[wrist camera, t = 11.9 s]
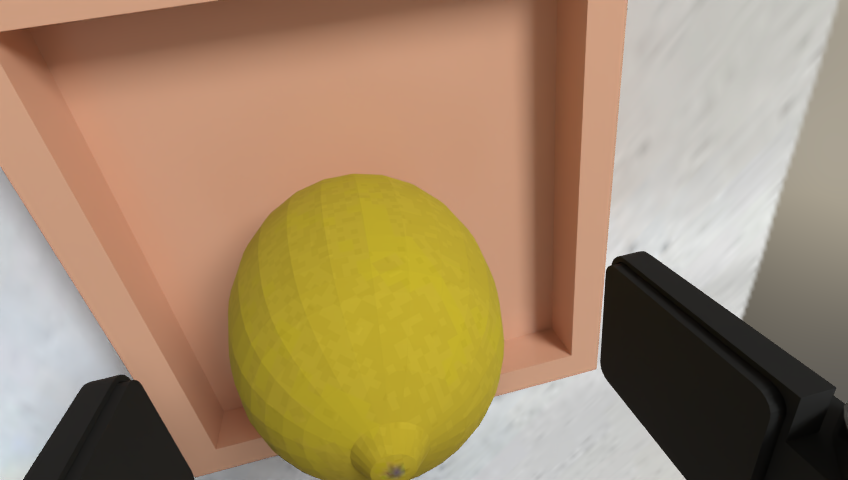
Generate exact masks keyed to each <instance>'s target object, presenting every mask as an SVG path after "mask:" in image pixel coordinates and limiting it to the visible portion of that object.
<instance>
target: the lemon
mask: <svg viewBox="0 0 848 480" xmlns="http://www.w3.org/2000/svg"><path fill="white" fill-rule="evenodd" d="M228 344H229V359H230V366H231V371H232V375H233V379H234V383H235V386H236V389H237V391H238V394H239V397H240V399H241V402H242V405H243V407H244V410H245V412H246V414H247V417H248V419H249V421H250V423H251V424H252V425H253V427H254V428H255V429H256V431H257V432H258V433H259V434H260V436H261V437H262V438H263V439H264V441H265V442H266V443H267V444H268V445H269V447H270V448H271V449H272V450H273V451H274V452H275V453H276V454H277V455H279V456H280V457H281V458H283V459H284V460H285V461H287V462H288V463H290V464H291V465H293V466H295V467H296V468H298V469H299V470H301V471H302V472H304V473H306V474H309V475H311V476H313V477H316V478H319V479H322V480H410V479H413V478H415V477H418V476H420V475H422V474H424V473H425V472H427V471H429V470H431V469H433V468H434V467H436V466H438V465H439V464H441V463H443V462H444V461H445V460H446V459H447V458H449V457H450V456H451V455H452V454H454V453H455V452H456V451H457V450H458V449H459V448H460V447H461V446H462V445H463V444H464V443H465V442H466V440H467V439H468V438H469V437H470V436H471V434H472V433H473V432H474V431H475V430H476V428H477V427H478V426H479V425H480V423H481V421H482V419H483V418H484V416H485V414H486V412H487V410H488V408H489V406H490V404H491V402H492V400H493V398H494V396H495V394H496V391H497V387H498V383H499V380H500V374H501V368H502V362H503V357H504V334H503V325H502V318H501V310H500V303H499V298H498V292H497V289H496V285H495V282H494V279H493V276H492V274H491V271H490V269H489V267H488V265H487V263H486V261H485V258H484V256H483V254H482V252H481V250H480V248H479V246H478V244H477V242H476V240H475V238H474V237H473V235H472V234H471V233H470V231H469V230H468V229H467V228H466V227H465V226H464V224H463V223H462V222H461V221H460V220H459V219H458V218H457V217H456V216H455V215H454V214H453V213H452V212H451V211H450V210H449V208H448V207H447V206H446V205H445V204H444V203H442V202H441V201H439V200H438V199H436V198H435V197H433V196H431V195H430V194H428V193H427V192H425V191H423V190H422V189H420V188H418V187H417V186H415V185H413V184H411V183H408V182H405V181H401V180H398V179H395V178H391V177H388V176H384V175H375V174H348V175H343V176H338V177H333V178H328V179H323V180H321V181H319V182H317V183H315V184H313V185H310V186H308V187H306V188H304V189H302V190H299V191H297V192H296V193H295V194H293V195H292V196H291V197H290V198H288V199H287V200H286V201H285V202H284V203H282V204H281V205H280V206H279V207H278V208H276V209H275V210H274V211H273V212H271V213H270V214H269V216H268V217H267V218H266V219H265V221H264V222H263V224H262V225H261V226H260V228H259V229H258V231H257V232H256V234H255V235H254V236H253V238H252V239H251V241H250V242H249V244H248V245H247V247H246V249H245V251H244V253H243V256H242V259H241V262H240V265H239V268H238V271H237V274H236V277H235V280H234V283H233V286H232V289H231V293H230V298H229V306H228Z"/></svg>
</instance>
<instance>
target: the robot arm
mask: <svg viewBox="0 0 848 480" xmlns="http://www.w3.org/2000/svg"><path fill="white" fill-rule="evenodd" d="M600 363H601V369H602V372H603V374H604V376H605V378H606V379H607V381H608V382H609V383H610V385H611V386H612V387H613V388H614V390H615V391H616V392H617V393H618V395H619V396H620V397H621V398H622V400H623V401H624V402H625V403H626V405H627V406H628V407H629V408H630V410H631V411H632V412H633V413H634V415H635V416H636V417H637V418H638V420H639V421H640V422H641V423H642V425H643V426H644V427H645V428H646V430H647V431H648V432H649V434H650V435H651V436H652V437H653V439H654V440H655V441H656V442H657V444H658V445H659V446H660V447H661V449H662V450H663V451H664V452H665V454H666V455H667V456H668V457H669V459H670V460H671V461H672V462H673V464H674V465H675V466H676V467H677V469H678V470H679V471H680V472H681V474H682V475H683V476H684V477H685V479H686V480H848V401H847V402H846V404H844V403H843V402H842V401H840V400H839V399H838V398H836V397H835V396H834V392H835V390H836V387H835V386H833V385H832V384H830V383H829V382H828V381H826V380H825V379H824V378H822V377H821V376H819V375H818V374H817V373H815V372H813V371H812V370H811V369H809V368H808V367H807V366H805V365H804V364H803V363H801V362H800V361H798V360H797V359H796V358H794V357H792V356H791V355H790V354H788V353H787V352H786V351H784V350H783V349H781V348H780V347H779V346H777V345H776V344H774V343H773V342H772V341H770V340H769V339H767V338H766V337H765V336H763V335H762V334H760V333H759V332H758V331H756V330H755V329H753V328H752V327H751V326H749V325H748V324H746V323H745V322H744V321H742V320H741V319H739V318H738V317H737V316H735V315H734V314H732V313H731V312H730V311H728V310H727V309H725V308H724V307H723V306H721V305H720V304H718V303H717V302H716V301H714V300H713V299H711V298H710V297H709V296H707V295H706V294H704V293H703V292H702V291H700V290H699V289H697V288H696V287H695V286H693V285H692V284H690V283H689V282H688V281H686V280H685V279H683V278H682V277H681V276H679V275H678V274H676V273H675V272H674V271H672V270H671V269H669V268H668V267H667V266H665V265H664V264H662V263H661V262H660V261H658V260H657V259H655V258H654V257H653V256H651V255H650V254H648V253H646V252H644V251H640V252H636V253H631V254H627V255H623V256H619V257H616V258H615V259H614V260H613V262H612V265H611V266H609V267H608V268H607V270H606V279H605V295H604V311H603V328H602V344H601V360H600ZM23 480H194V476H193V473H192V471H191V469H190V467H189V465H188V464H187V462H186V460H185V458H184V457H183V455H182V453H181V452H180V450H179V448H178V446H177V445H176V443H175V441H174V439H173V438H172V436H171V434H170V433H169V431H168V429H167V427H166V426H165V424H164V422H163V421H162V419H161V417H160V415H159V414H158V412H157V410H156V408H155V407H154V405H153V403H152V402H151V400H150V398H149V396H148V395H147V393H146V391H145V389H144V388H143V386H142V384H141V383H140V382H139V381H137V380H130V379H129V377H127V376H125V375H118V376H113V377H109V378H105V379H101V380H97V381H92V382H89V383H87V384H85V385H84V386H83V387H82V388H81V390H80V391H79V393H78V394H77V396H76V397H75V399H74V401H73V402H72V404H71V405H70V407H69V408H68V410H67V412H66V413H65V415H64V416H63V418H62V419H61V421H60V422H59V424H58V426H57V427H56V429H55V430H54V432H53V433H52V435H51V437H50V438H49V440H48V441H47V443H46V444H45V446H44V448H43V449H42V451H41V452H40V454H39V455H38V457H37V459H36V460H35V462H34V463H33V465H32V466H31V468H30V470H29V471H28V473H27V474H26V476H25V477H24V479H23Z"/></svg>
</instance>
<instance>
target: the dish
mask: <svg viewBox="0 0 848 480" xmlns="http://www.w3.org/2000/svg"><path fill="white" fill-rule="evenodd" d="M627 3H628V0H0V166H1V168H2V169H3V171H4V173H5V174H6V176H7V177H8V179H9V181H10V182H11V184H12V185H13V187H14V189H15V190H16V192H17V193H18V195H19V197H20V198H21V200H22V201H23V203H24V205H25V206H26V208H27V209H28V211H29V213H30V214H31V216H32V217H33V219H34V221H35V222H36V224H37V225H38V227H39V229H40V230H41V232H42V233H43V235H44V237H45V238H46V240H47V241H48V243H49V245H50V246H51V248H52V249H53V251H54V253H55V254H56V256H57V257H58V259H59V261H60V262H61V264H62V265H63V267H64V269H65V270H66V272H67V273H68V275H69V277H70V278H71V280H72V281H73V283H74V285H75V286H76V288H77V289H78V291H79V293H80V294H81V296H82V297H83V299H84V301H85V302H86V304H87V305H88V307H89V309H90V310H91V312H92V313H93V315H94V317H95V318H96V320H97V321H98V323H99V325H100V326H101V328H102V329H103V331H104V333H105V334H106V336H107V337H108V339H109V341H110V342H111V344H112V345H113V347H114V349H115V350H116V352H117V353H118V355H119V357H120V358H121V360H122V361H123V363H124V365H125V366H126V368H127V369H128V371H129V373H130V374H131V376H132V377H133V379H134V380H137V381H139V382H140V383H141V384H142V386H143V388H144V389H145V391H146V393H147V395H148V396H149V398H150V400H151V402H152V403H153V405H154V407H155V408H156V410H157V412H158V414H159V415H160V417H161V419H162V421H163V422H164V424H165V426H166V427H167V429H168V431H169V433H170V434H171V436H172V438H173V439H174V441H175V443H176V445H177V446H178V448H179V450H180V452H181V453H182V455H183V457H184V458H185V460H186V462H187V464H188V465H189V467H190V469H191V471H192V473H193V475H194V477H199V476H203V475H206V474H210V473H214V472H217V471H221V470H225V469H229V468H232V467H236V466H240V465H243V464H247V463H251V462H254V461H258V460H262V459H266V458H269V457H273V456H277V454H276V453H275V452H274V451H273V450H272V449H271V448H270V447H269V445H268V444H267V443H266V442H265V441H264V439H263V438H262V437H261V436H260V434H259V433H258V432H257V431H256V429H255V428H254V427H253V425H252V424H251V423H250V421H249V419H248V417H247V414H246V412H245V410H244V407H243V405H242V402H241V399H240V397H239V394H238V391H237V389H236V386H235V383H234V379H233V375H232V371H231V366H230V359H229V344H228V306H229V298H230V293H231V289H232V286H233V283H234V280H235V277H236V274H237V271H238V268H239V265H240V262H241V259H242V256H243V253H244V251H245V249H246V247H247V245H248V244H249V242H250V241H251V239H252V238H253V236H254V235H255V234H256V232H257V231H258V229H259V228H260V226H261V225H262V224H263V222H264V221H265V219H266V218H267V217H268V216H269V214H270V213H271V212H273V211H274V210H275V209H276V208H278V207H279V206H280V205H281V204H282V203H284V202H285V201H286V200H287V199H288V198H290V197H291V196H292V195H293V194H295V193H296V192H297V191H299V190H302V189H304V188H306V187H308V186H310V185H313V184H315V183H317V182H319V181H321V180H323V179H328V178H333V177H338V176H343V175H348V174H375V175H384V176H388V177H391V178H395V179H398V180H401V181H405V182H408V183H411V184H413V185H415V186H417V187H418V188H420V189H422V190H423V191H425V192H427V193H428V194H430V195H431V196H433V197H435V198H436V199H438V200H439V201H441V202H442V203H444V204H445V205H446V206H447V207H448V208H449V210H450V211H451V212H452V213H453V214H454V215H455V216H456V217H457V218H458V219H459V220H460V221H461V222H462V223H463V224H464V226H465V227H466V228H467V229H468V230H469V231H470V233H471V234H472V235H473V237H474V238H475V240H476V242H477V244H478V246H479V248H480V250H481V252H482V254H483V256H484V258H485V261H486V263H487V265H488V267H489V269H490V271H491V274H492V276H493V279H494V282H495V285H496V289H497V292H498V298H499V303H500V310H501V318H502V325H503V334H504V357H503V362H502V368H501V374H500V380H499V383H498V387H497V391H496V394H495V396H499V395H502V394H506V393H510V392H514V391H517V390H521V389H525V388H528V387H532V386H536V385H540V384H543V383H547V382H551V381H554V380H558V379H562V378H565V377H569V376H573V375H577V374H580V373H584V372H588V371H591V370H595V369H596V368H597V356H598V345H599V333H600V321H601V309H602V297H603V286H604V274H605V262H606V250H607V239H608V227H609V215H610V203H611V191H612V180H613V168H614V156H615V144H616V132H617V121H618V109H619V97H620V85H621V74H622V62H623V50H624V38H625V26H626V15H627ZM495 396H494V397H495Z"/></svg>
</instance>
